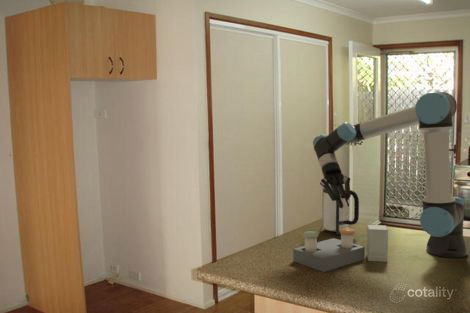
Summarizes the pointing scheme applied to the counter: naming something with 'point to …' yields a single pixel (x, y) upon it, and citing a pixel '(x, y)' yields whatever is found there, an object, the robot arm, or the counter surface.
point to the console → (328, 255)
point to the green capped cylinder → (310, 241)
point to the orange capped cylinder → (347, 238)
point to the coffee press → (337, 212)
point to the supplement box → (377, 243)
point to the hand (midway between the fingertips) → (347, 214)
